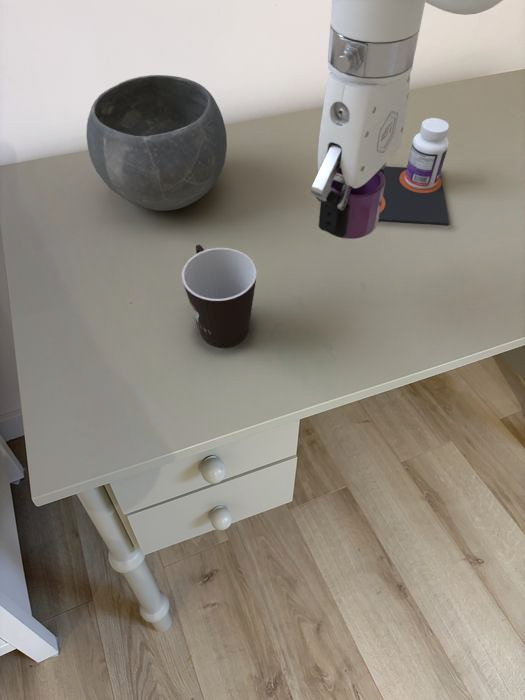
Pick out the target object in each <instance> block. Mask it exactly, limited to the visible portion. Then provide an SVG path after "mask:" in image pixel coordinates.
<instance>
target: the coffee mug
mask: <svg viewBox="0 0 525 700" xmlns="http://www.w3.org/2000/svg"><path fill="white" fill-rule="evenodd" d="M195 252H196V253H195V254H194V255H192V256H191V257H190V258H189V259H188V260H187V261H186V262H185V264H184V266H183V268H182V271H181V281H182V284H183V287H184V290H185V293H186V295H187V299H188V301H189V304H190V307H191V310H192V313H193V316H194V319H195V322H196V325H197V328H198V330H199V333H200V336H201V338H202V340H203V341H204V342H205V343H207V344H208V345H209V346H213V347H215V348H221V349H227V348H232V347H235V346H237V345H240V343H242V342H243V341H245V339H247V336H248V334H249V332H250V325H251V318H252V310H253V303H254V297H255V296H254V295H255V289H256V281H257V275H258V273H257V267H256V263H255V262H254V260H252V259H251V258H250V256H248V255H247V254H246V253H245V252H242V251H240V250H237V249H234V248H230V247H213V248H208V249H204V247H203V246H202V245H201V244H196V245H195Z"/></svg>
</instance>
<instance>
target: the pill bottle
mask: <svg viewBox="0 0 525 700" xmlns="http://www.w3.org/2000/svg"><path fill="white" fill-rule="evenodd" d="M449 129H450V124H449V123H448V121H446V120H445V119H442V118H437V117H430V118H426V119H424V120H423V121H422V122H421V126H420V131H419V132H418V133H417V134H416V135H414V137H413V140H412V144H411V148H410V153H409V156H408V161H407V164H406V168H407V169H406V173H405V181H406V182H407V183H408V184H409V185H410V186H412V187H414V188H417V189H429V188H432V187H434V186H435V185H436V184H437V182H438V179H439V176H440V175H441V172H442V169H443V165H444V161H445V158H446V155H447V152H448V148H449V146H450V145H449V139H448V137H447V136H448V133H449Z"/></svg>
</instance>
